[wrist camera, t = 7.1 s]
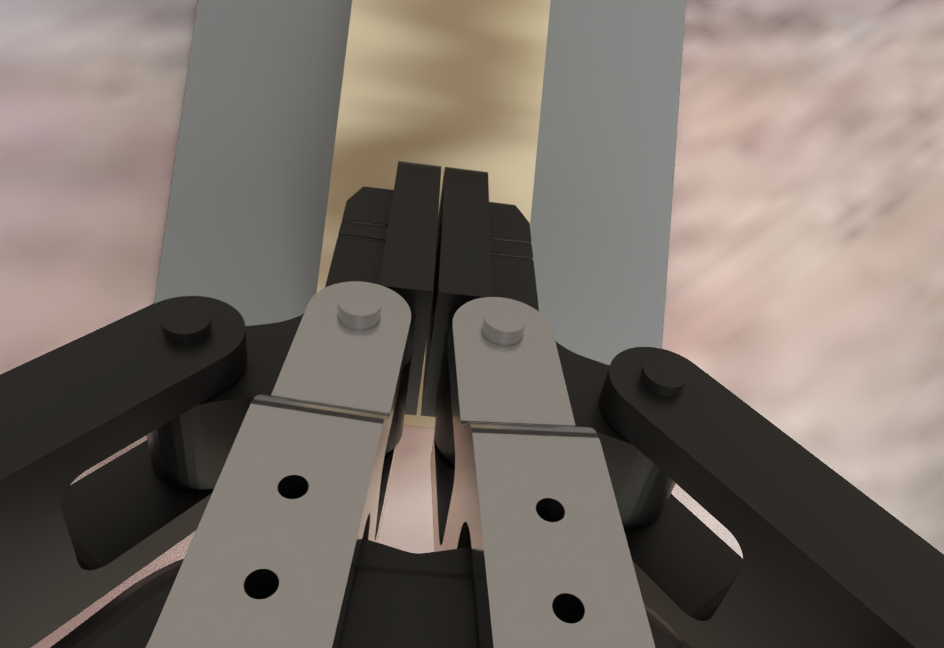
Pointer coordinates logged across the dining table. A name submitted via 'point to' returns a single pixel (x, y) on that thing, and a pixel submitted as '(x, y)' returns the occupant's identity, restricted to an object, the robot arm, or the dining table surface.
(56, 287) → the dining table surface
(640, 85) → the felt mat
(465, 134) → the maple block
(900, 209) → the dining table surface
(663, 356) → the robot arm
